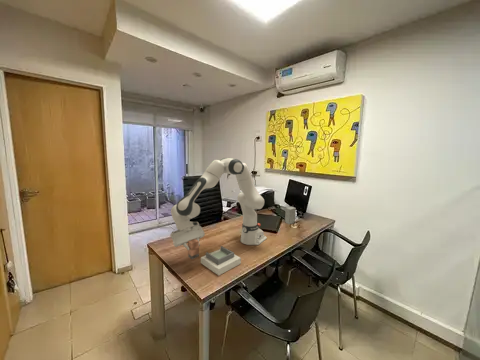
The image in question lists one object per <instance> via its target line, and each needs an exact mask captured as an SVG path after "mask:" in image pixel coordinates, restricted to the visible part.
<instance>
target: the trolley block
mask: <svg viewBox="0 0 480 360" xmlns="http://www.w3.org/2000/svg"><path fill="white" fill-rule="evenodd" d="M199 244H200V240H199V241H198V240H196V239H194V240H191V241H188V243H187V246H190V248H191V249H190V250H187V252H188V253H187V255H188V258H189V259H191V260H194V259H197V258H199V257H200V246H199Z"/></svg>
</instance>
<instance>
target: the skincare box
mask: <svg viewBox="0 0 480 360" xmlns="http://www.w3.org/2000/svg"><path fill="white" fill-rule="evenodd" d="M284 211H285V213H284V214H285V216H284V223H286V224H287V225H290V224H292V225H293V224H295V223H294V222H296V211H297V208H296V207H294V206H287V207H285V210H284Z"/></svg>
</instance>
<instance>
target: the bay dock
mask: <svg viewBox="0 0 480 360" xmlns="http://www.w3.org/2000/svg"><path fill="white" fill-rule="evenodd" d="M241 261H242V258H241V256H238V255H236V254H235V252H234V251H232V250H230V249H228V248H226V247H224V246H222V245H220V247H219V249H217V250H214V251H213V252H208V251H206V252H205V255H203V256H201V257H200V264H201V265H203V266H204V267H206V268H207V269H209V270H210V271H211V272H213V273H214V274H216V275H217V276H220V275H223V274H224V273H227V272H229V271H230V270H232V269H234V268H236V267H237V266H240V265H241V263H242V262H241Z"/></svg>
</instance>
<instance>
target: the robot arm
mask: <svg viewBox="0 0 480 360" xmlns="http://www.w3.org/2000/svg"><path fill="white" fill-rule="evenodd" d="M224 174H228V175H235V178H236V182H237V185H238V188H239V190H240V191H241V192H239V193H238V194H237V198H236V199H237V201H238V203H239V205H240V208H241V212H242V226H241V227H242V228H241V236H240V243H242V244H244V245H247V246H260V245H261V244H262V243H263V242H265V241H266V240H267V238H268V237H267V236H265V234H264V231H263V230H262V229H261V228H259V227H261V223H259V222H258V214H257V212H256V210H261V209H263V207H264V206H265V199H264V197H263V196H262V195H261V194H260V193H259V191H258V190H257V187H256V186H255V184H254V181H253V177H252V173H251V171H250V168H249V166H248V165H247V163H245V162H242V161H241V160H240V159H237V158H232V157H229V158H228V157H223V158H222V159H220V160H219V159H213V161H212V162H210V163H209V165H208V166H207V168H206V169H205V170H204V171H203V173H202V175H201V176H200V177H199V178H198V179H197V180H195V182H194V183H193V184H192V186H191V187H190V189H189V190H188V191H187V193H186V194H185V195H184V196H183V197H181V198H180V199H179V200H178V202H177V204H174V205H173V206H172V207H171V210H170V214H171V217H172V220H173V222H174V223H175V226H176V229H177V230H175V231H172V232H170V238H171V241H172V244H173V246H174V247H175V248H177V247H180V246H183V247H184V248H186V250H187V251H188V250H190V249H191V248H190V246H188V241H191V240H194V239H196V240H198V241H199V242H200V239H202V238H204V237H205V235H206V234H205V231H204V229H203V228H202V226H201V225H200V223H199V222H198V221H190V220H191V219H192V220H193V219H194V218H196V217H198V216H199V215H200V213H201V206H200V205H199V204H198V203H196V202H195V200H196V199H197V198H198V196H199V195H200V194H201V192H202V191H204V190H205V189H211V188H214V187H215V186H216V185H217V184H218V183H219V181H220V180H221V178H222V175H224ZM200 246H201V244H200V243H199V247H200Z"/></svg>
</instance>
